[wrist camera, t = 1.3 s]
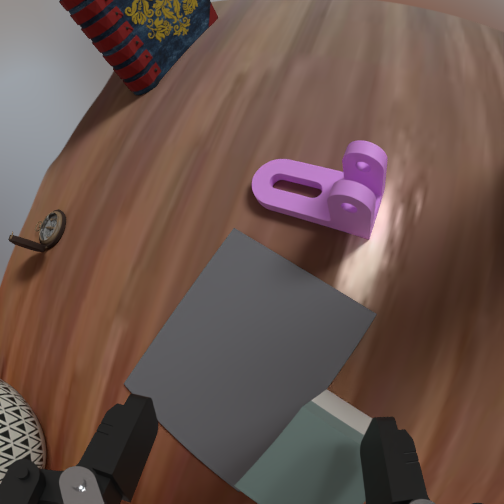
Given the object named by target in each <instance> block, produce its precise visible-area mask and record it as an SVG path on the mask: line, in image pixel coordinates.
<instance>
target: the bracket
mask: <svg viewBox="0 0 504 504" xmlns="http://www.w3.org/2000/svg"><path fill="white" fill-rule="evenodd" d="M342 162H343V172H341V171H337V170H332V169H328V168H324V167H320V166H316V165H311V164H307V163H302V162H298V161H293V160H288V159H277V160H273V161H270V162H268V163H266V164H264V165H263V166H262V167H260V168H259V169H258V171H257V172H256V173H255V175H254V177H253V180H252V190H253V193H254V195H255V197H256V198H257V200H258V202H259V203H260V204H261V205H262V206H263V207H265V208H266V209H269V210H272V211H275V212H279V213H282V214H286V215H289V216H293V217H296V218H300V219H303V220H307V221H310V222H313V223H317V224H320V225H323V226H327V227H330V228H333V229H337V230H340V231H343V232H346V233H350V234H353V235H356V236H359V237H362V238H366V239H370V236H371V233H372V229H373V226H374V223H375V220H376V217H377V213H378V210H379V207H380V204H381V200H382V197H383V193H384V189H385V180H386V169H387V156H386V154H385V152H384V151H383V150H382V149H381V148H380V147H379V146H377V145H375V144H373V143H371V142H368V141H362V140H358V141H353V142H351V143H350V144H349V145H348V146H347V149H346V152H345V154H344V157H343V160H342ZM279 180H286V181H290V182H294V183H298V184H302V185H306V186H310V187H314V188H318V189H320V190H321V191H322V193H321V194H320V195H319V196H318V197H315V198H310V197H306V196H302V195H298V194H295V193H291V192H287V191H283V190H279V189H275V188H273V185H274V184H275V183H276V182H277V181H279Z"/></svg>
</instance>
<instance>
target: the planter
mask: <svg viewBox="0 0 504 504" xmlns="http://www.w3.org/2000/svg"><path fill="white" fill-rule="evenodd" d="M19 459H28V460H31V461H32V462H34V463H35V464H36V465H37V467H38V468H39V469H45V464H46V444H45V438H44V434H43V431H42V428H41V426H40V423H39V421H38V419H37V417H36V415H35V413H34V412H33V410H32V409H31V407H30V406H29V404H28V403H27V402H26V400H25V399H24V398H23V397H22V396H21V395H20V394H19V393H18V392H17V391H16V390H15V389H14V388H13V387H12V386H11V385H9V384H8V383H6V382H5V381H3V380H1V379H0V484H1V482H2V480H3V478H4V476H5V474H6V472H7V471H8V469H9V467H10V465H11V464H12V463H13V462H15V461H16V460H19Z"/></svg>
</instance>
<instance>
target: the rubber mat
mask: <svg viewBox="0 0 504 504" xmlns="http://www.w3.org/2000/svg"><path fill="white" fill-rule="evenodd" d="M376 315H377V314H376V313H374V312H372V311H371V310H369V309H367V308H366V307H364V306H363V305H361V304H359V303H358V302H356V301H354V300H353V299H351V298H349V297H348V296H346V295H345V294H343V293H341V292H340V291H338V290H336V289H335V288H333V287H331V286H330V285H328V284H326V283H325V282H323V281H321V280H320V279H318V278H317V277H315V276H313V275H312V274H310V273H308V272H307V271H305V270H303V269H302V268H300V267H298V266H297V265H295V264H293V263H292V262H290V261H288V260H287V259H285V258H283V257H282V256H280V255H278V254H277V253H275V252H273V251H272V250H270V249H268V248H267V247H265V246H263V245H262V244H260V243H258V242H257V241H255V240H253V239H252V238H250V237H248V236H247V235H245V234H243V233H242V232H240V231H238V230H237V229H235V228H234V229H233V230H232V231H231V233H230V234H229V235H228V237H227V238H226V240H225V241H224V242H223V244H222V245H221V246H220V248H219V249H218V251H217V252H216V253H215V255H214V256H213V257H212V259H211V260H210V262H209V263H208V264H207V266H206V267H205V268H204V270H203V271H202V273H201V274H200V275H199V277H198V278H197V280H196V281H195V282H194V284H193V285H192V287H191V288H190V289H189V291H188V292H187V294H186V295H185V296H184V298H183V299H182V301H181V302H180V303H179V305H178V306H177V308H176V309H175V310H174V312H173V313H172V315H171V316H170V318H169V319H168V320H167V322H166V323H165V325H164V326H163V328H162V329H161V330H160V332H159V333H158V335H157V336H156V338H155V339H154V340H153V342H152V343H151V345H150V346H149V348H148V349H147V351H146V352H145V354H144V355H143V356H142V358H141V359H140V361H139V362H138V364H137V365H136V367H135V368H134V370H133V371H132V373H131V374H130V375H129V377H128V378H127V380H126V381H125V383H124V385H125V386H126V387H127V388H128V389H129V390H130V391H131V392H132V394H137V395H141V396H146V397H150V398H152V401H153V405H154V409H155V412H156V416H157V420H158V421H159V422H160V423H161V424H162V425H163V426H164V427H165V428H166V429H167V430H168V431H169V432H170V433H171V434H172V435H173V436H174V437H175V438H176V439H177V440H178V441H179V442H180V443H182V444H183V445H184V446H185V447H186V448H187V449H188V450H189V451H190V452H191V453H192V454H194V455H195V456H196V457H197V458H198V459H199V460H200V461H202V462H203V463H204V464H205V465H206V466H207V467H209V468H210V469H211V470H212V471H213V472H215V473H216V474H217V475H218V476H219V477H221V478H222V479H223V480H224V481H226V482H227V483H228V484H229V485H231V486H232V487H233V488H235V489H236V490H237V491H238V492H240V490H239V489H238V488H236V487H235V486H234V485H235V484H236V483H237V482H238V481H239V480H240V479H241V478H242V477H243V476H244V475H245V474H246V473H247V472H248V471H249V469H250V468H251V467H252V466H253V465H254V464H255V463H256V462H257V461H258V460H259V458H260V457H261V456H262V455H263V454H264V453H265V452H266V450H267V449H268V448H269V447H270V446H271V445H272V443H273V442H274V441H275V440H276V439H277V438H278V436H279V435H280V434H281V433H282V432H283V430H284V429H285V428H286V427H287V425H288V424H289V423H290V422H291V421H292V419H293V418H294V417H295V416H296V414H297V413H298V412H299V410H300V409H301V408H302V407H303V406H304V405H305V404H307V403H308V402H310V401H311V400H312V399H314V398H315V397H317V396H318V395H319V394H321V393H322V392H323V391H325V390H326V389H327V388H328V386H329V385H330V384H331V382H332V381H333V380H334V378H335V377H336V375H337V374H338V373H339V371H340V370H341V368H342V367H343V365H344V364H345V362H346V361H347V360H348V358H349V357H350V355H351V354H352V352H353V351H354V349H355V348H356V346H357V345H358V343H359V342H360V340H361V339H362V337H363V335H364V334H365V332H366V331H367V329H368V328H369V326H370V324H371V323H372V321H373V320H374V318H375V316H376Z"/></svg>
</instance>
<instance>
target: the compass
mask: <svg viewBox="0 0 504 504" xmlns="http://www.w3.org/2000/svg"><path fill="white" fill-rule="evenodd" d="M39 222H41V225H39V228H40V229H39V230H40V231H39V230H38V231H39V240H40V243H41V244H39V243H36V242H33V241H31V240H28V239H24V238H21V237H18V236H14V235H13V233H12V235H10V237H9V241H10V242H12V243H13V244H15V245H18V246H21V247H24V248H27V249H30V250H33V251H37V252H44V251H45V248H50V247H52V246H53V245H55V244H56V243H57V242H58V240H59V239H60V238H61V236H62V234H63V232H64V229H65V225H66V217H65V214H64V213H63V212H62V211H61V210H59V209H58V210H55V211H53V212H51V213H50V214H48V215H47V216H46V218H45V219H44V220H43V222H42V221H39ZM39 222H38V223H39ZM38 223H37V225H38ZM37 225H36V227H37ZM35 230H36V228H35ZM36 231H37V230H36Z"/></svg>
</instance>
